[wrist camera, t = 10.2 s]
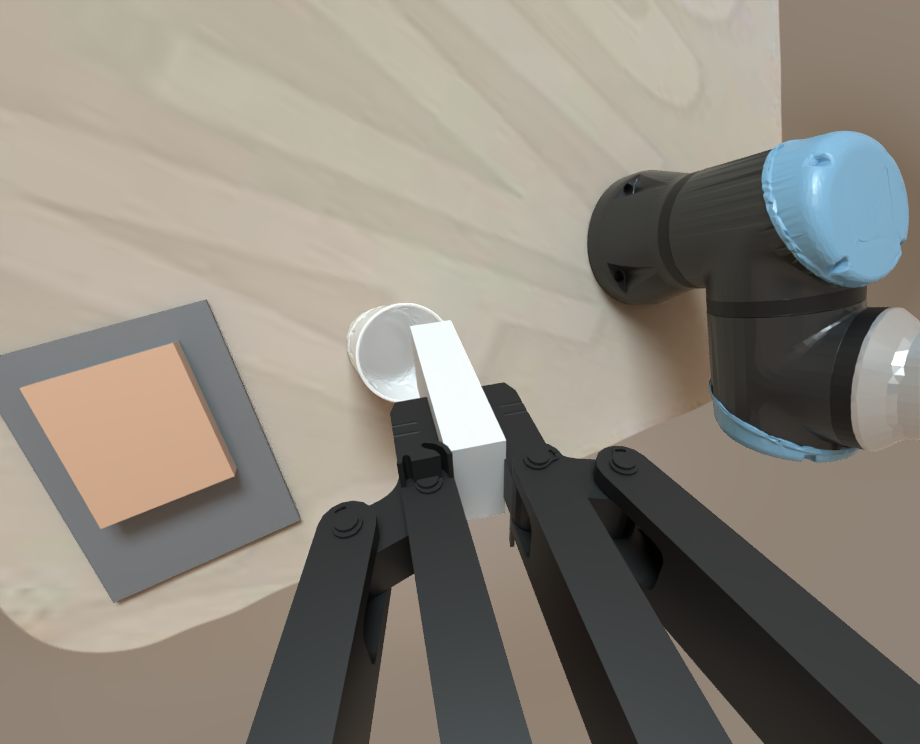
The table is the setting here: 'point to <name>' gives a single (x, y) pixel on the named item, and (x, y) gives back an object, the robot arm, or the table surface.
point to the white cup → (387, 348)
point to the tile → (133, 431)
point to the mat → (182, 520)
